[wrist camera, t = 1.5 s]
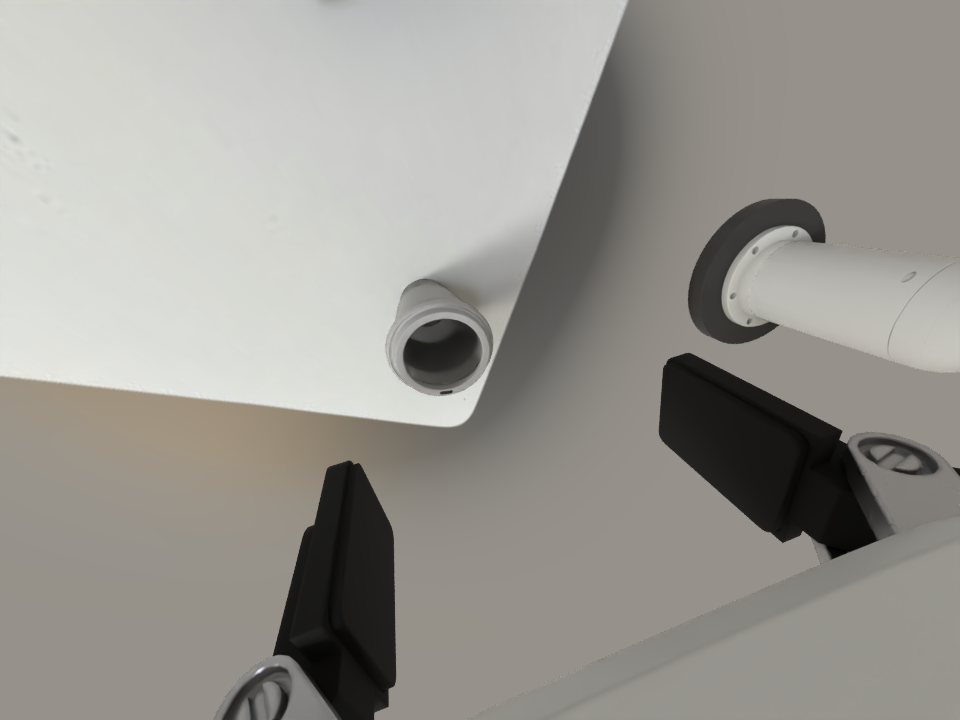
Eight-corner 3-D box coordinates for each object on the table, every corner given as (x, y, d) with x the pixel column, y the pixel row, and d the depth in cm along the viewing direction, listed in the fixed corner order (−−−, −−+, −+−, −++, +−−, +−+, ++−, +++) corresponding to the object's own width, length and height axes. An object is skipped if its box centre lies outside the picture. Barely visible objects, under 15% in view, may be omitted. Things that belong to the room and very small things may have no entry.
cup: (390, 340, 32) (392, 409, 22) (381, 269, 29) (378, 309, 19) (463, 333, 34) (497, 394, 23) (461, 265, 31) (499, 300, 20)
